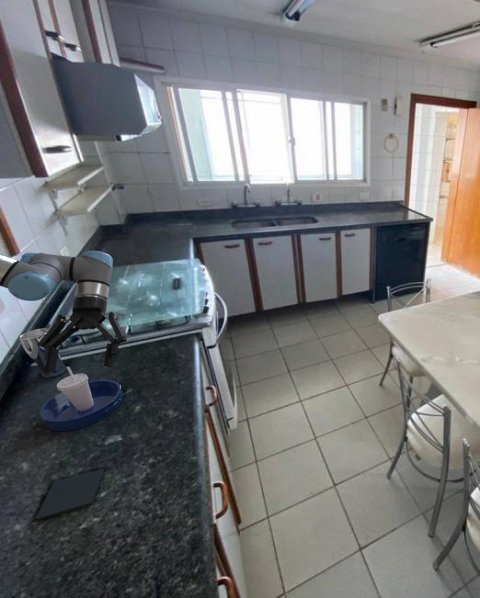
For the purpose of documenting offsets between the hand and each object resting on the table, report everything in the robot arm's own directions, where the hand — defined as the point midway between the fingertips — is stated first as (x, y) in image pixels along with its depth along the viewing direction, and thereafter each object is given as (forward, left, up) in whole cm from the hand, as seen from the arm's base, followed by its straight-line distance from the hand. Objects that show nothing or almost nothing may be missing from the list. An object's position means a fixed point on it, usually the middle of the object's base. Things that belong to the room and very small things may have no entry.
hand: (79, 369), depth 94 cm
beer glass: (-15, +20, -12) cm, 27 cm away
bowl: (-1, -3, -12) cm, 12 cm away
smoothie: (-1, -3, -11) cm, 12 cm away
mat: (+5, -34, -12) cm, 36 cm away
